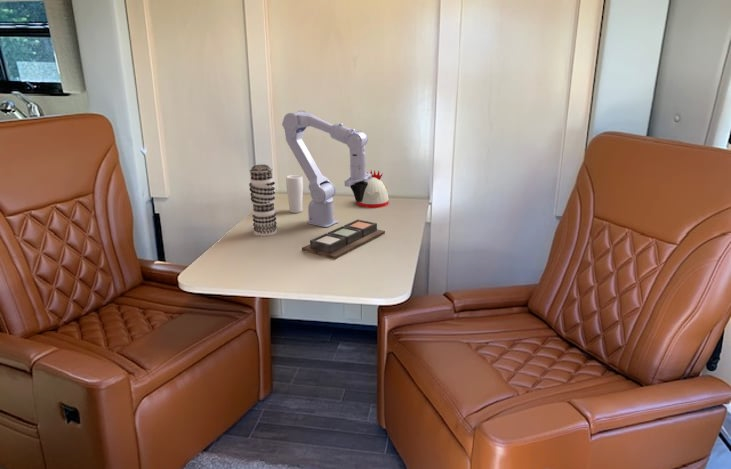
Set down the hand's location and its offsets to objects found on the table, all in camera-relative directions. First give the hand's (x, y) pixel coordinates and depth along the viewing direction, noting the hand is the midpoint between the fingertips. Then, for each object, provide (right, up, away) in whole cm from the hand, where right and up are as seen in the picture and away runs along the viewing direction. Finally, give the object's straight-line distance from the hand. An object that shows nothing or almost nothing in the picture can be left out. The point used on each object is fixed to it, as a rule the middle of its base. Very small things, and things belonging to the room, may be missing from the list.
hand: (359, 201), depth 195 cm
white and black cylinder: (-35, -12, 0) cm, 37 cm away
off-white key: (-10, -16, -19) cm, 27 cm away
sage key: (-5, -13, -11) cm, 18 cm away
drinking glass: (-27, -3, +24) cm, 36 cm away
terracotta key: (+1, -11, -4) cm, 11 cm away
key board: (-5, -15, -11) cm, 19 cm away
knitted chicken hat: (+6, +1, +35) cm, 36 cm away
